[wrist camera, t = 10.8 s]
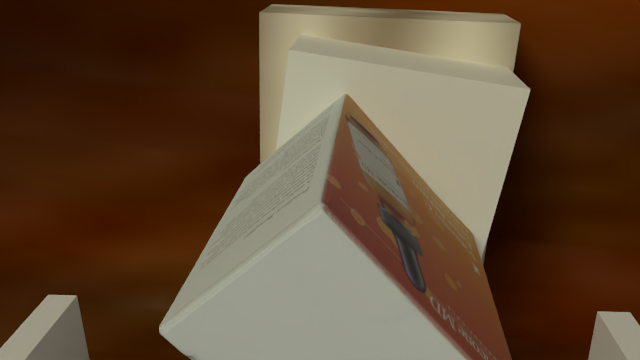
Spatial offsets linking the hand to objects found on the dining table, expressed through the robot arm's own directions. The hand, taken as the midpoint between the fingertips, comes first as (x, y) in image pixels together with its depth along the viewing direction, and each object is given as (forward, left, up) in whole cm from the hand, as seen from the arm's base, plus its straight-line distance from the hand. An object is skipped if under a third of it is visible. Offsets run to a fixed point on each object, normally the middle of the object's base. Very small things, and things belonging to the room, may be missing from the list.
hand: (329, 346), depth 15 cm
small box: (+1, 0, -10) cm, 10 cm away
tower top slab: (+1, 0, -14) cm, 14 cm away
